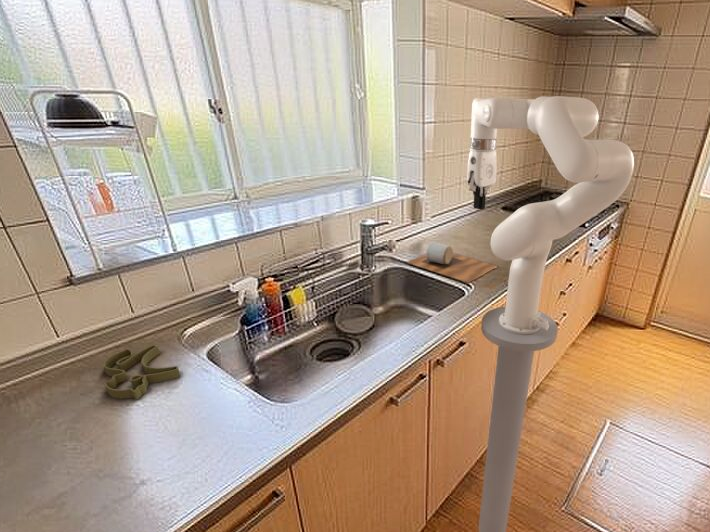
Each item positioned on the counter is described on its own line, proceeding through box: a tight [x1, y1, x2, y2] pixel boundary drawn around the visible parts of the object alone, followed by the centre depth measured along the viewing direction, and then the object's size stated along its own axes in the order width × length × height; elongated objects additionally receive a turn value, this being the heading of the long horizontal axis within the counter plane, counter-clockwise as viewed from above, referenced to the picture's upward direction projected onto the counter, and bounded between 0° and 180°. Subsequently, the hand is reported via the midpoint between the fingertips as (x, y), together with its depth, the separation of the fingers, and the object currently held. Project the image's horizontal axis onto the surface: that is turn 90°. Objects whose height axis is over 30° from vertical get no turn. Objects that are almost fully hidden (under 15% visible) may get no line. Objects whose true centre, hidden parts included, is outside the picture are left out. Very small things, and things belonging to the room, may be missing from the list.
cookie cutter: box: [102, 344, 181, 401], centre depth 90 cm, size 18×12×2 cm, turn 50°
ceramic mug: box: [425, 240, 454, 264], centre depth 158 cm, size 11×8×8 cm
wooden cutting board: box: [406, 252, 498, 284], centre depth 158 cm, size 28×20×1 cm
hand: (479, 208), depth 129 cm, fingers closed
